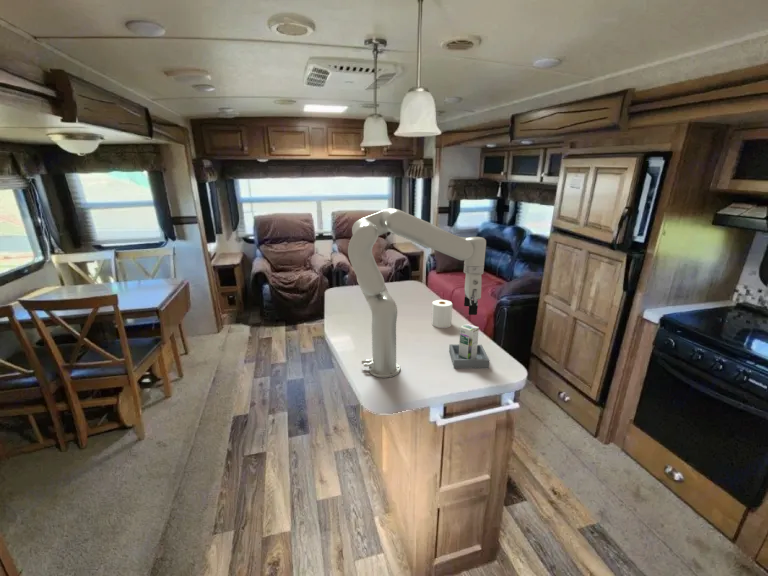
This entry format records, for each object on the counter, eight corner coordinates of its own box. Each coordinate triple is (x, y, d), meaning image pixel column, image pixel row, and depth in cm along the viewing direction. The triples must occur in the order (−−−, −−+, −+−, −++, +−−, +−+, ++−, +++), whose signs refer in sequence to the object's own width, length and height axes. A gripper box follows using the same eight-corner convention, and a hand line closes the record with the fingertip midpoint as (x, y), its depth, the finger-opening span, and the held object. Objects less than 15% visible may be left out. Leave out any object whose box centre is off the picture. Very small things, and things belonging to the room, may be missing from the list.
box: (453, 368, 141) (454, 360, 140) (449, 351, 155) (449, 344, 154) (488, 368, 141) (489, 360, 140) (481, 352, 154) (481, 344, 153)
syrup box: (457, 358, 148) (459, 326, 143) (465, 353, 152) (467, 322, 147) (469, 363, 144) (471, 330, 139) (477, 358, 148) (479, 326, 143)
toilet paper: (441, 319, 191) (441, 298, 188) (455, 324, 183) (456, 303, 180) (427, 323, 185) (428, 302, 182) (441, 329, 177) (442, 307, 174)
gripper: (488, 274, 128) (484, 318, 133) (478, 264, 144) (475, 303, 149) (468, 274, 128) (464, 318, 133) (460, 263, 144) (457, 302, 149)
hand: (470, 310), depth 141 cm, fingers open, 9 cm apart
